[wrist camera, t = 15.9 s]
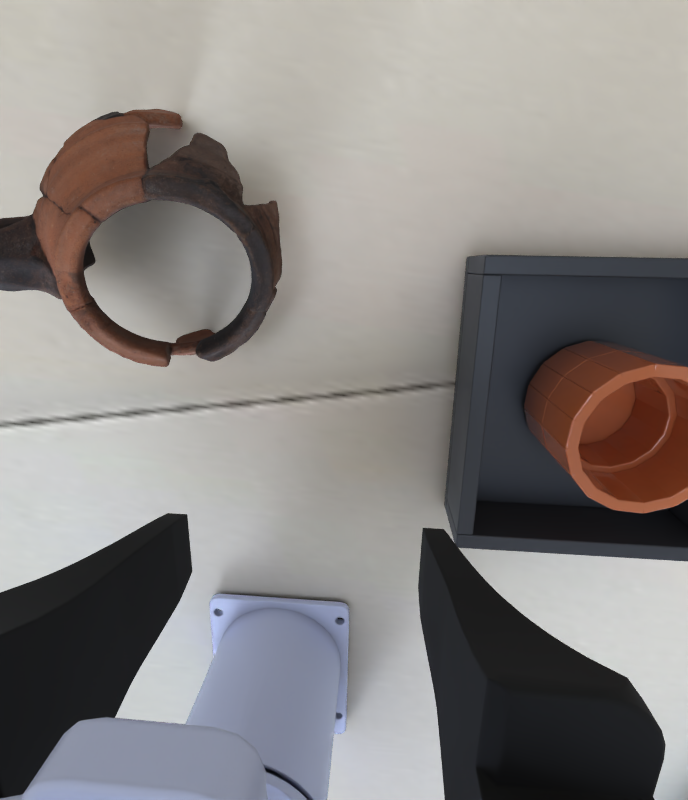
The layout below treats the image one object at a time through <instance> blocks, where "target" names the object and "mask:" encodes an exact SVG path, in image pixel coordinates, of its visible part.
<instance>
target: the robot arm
mask: <svg viewBox="0 0 688 800" xmlns="http://www.w3.org/2000/svg"><path fill="white" fill-rule="evenodd" d="M191 573H192V563H191V552H190V541H189V530H188V519H187V514H170V513H168V514H166V515H163V516H161V517H159V518H157V519H156V520H154V521H152V522H150V523H148V524H146V525H145V526H143V527H141V528H139V529H138V530H136V531H134V532H132V533H131V534H129V535H127V536H125V537H123V538H122V539H120V540H118V541H116V542H115V543H113V544H111V545H109V546H107V547H105V548H103V549H101V550H99V551H98V552H96V553H94V554H92V555H90V556H88V557H86V558H84V559H82V560H80V561H78V562H76V563H74V564H72V565H70V566H68V567H65V568H63V569H61V570H59V571H56V572H54V573H52V574H49V575H47V576H44V577H42V578H40V579H37V580H34V581H32V582H29V583H26V584H23V585H21V586H18V587H15V588H12V589H9V590H7V591H4V592H1V593H0V800H327V797H328V787H329V777H330V766H331V756H332V746H333V736H334V734H341V733H343V732H344V731H345V730H346V718H347V679H348V641H349V607H348V605H347V604H345V603H343V602H333V601H319V600H304V599H290V598H275V597H261V596H246V595H232V594H215V595H213V597H212V598H211V600H210V617H211V630H212V642H213V655H214V658H213V660H212V662H211V665H210V667H209V670H208V672H207V674H206V677H205V679H204V681H203V684H202V686H201V688H200V691H199V693H198V696H197V698H196V700H195V703H194V705H193V707H192V710H191V712H190V714H189V717H188V719H187V721H186V724H177V723H165V722H154V721H143V720H132V719H120V718H115V716H116V714H117V712H118V710H119V708H120V706H121V703H122V701H123V699H124V697H125V695H126V693H127V691H128V689H129V687H130V685H131V683H132V681H133V679H134V677H135V675H136V674H137V672H138V670H139V668H140V666H141V665H142V663H143V661H144V660H145V658H146V656H147V655H148V653H149V652H150V650H151V648H152V647H153V645H154V643H155V642H156V640H157V638H158V637H159V635H160V633H161V632H162V630H163V628H164V627H165V625H166V623H167V622H168V620H169V618H170V617H171V615H172V613H173V612H174V610H175V608H176V606H177V605H178V603H179V601H180V599H181V597H182V594H183V592H184V590H185V588H186V585H187V583H188V580H189V578H190V576H191ZM418 589H419V605H420V618H421V624H422V629H423V634H424V640H425V645H426V650H427V656H428V661H429V666H430V671H431V677H432V682H433V687H434V693H435V699H436V706H437V715H438V726H439V736H440V747H441V759H442V770H443V782H444V794H445V800H654V798H653V794H654V791H655V787H656V784H657V781H658V777H659V774H660V770H661V767H662V764H663V760H664V753H665V741H664V737H663V734H662V730H661V729H660V727H659V725H658V724H657V722H656V720H655V719H654V717H653V715H652V714H651V712H650V710H649V709H648V707H647V706H646V704H645V702H644V701H643V699H642V698H641V696H640V695H639V693H638V692H637V691H636V689H635V688H634V686H633V685H632V684H631V682H630V681H629V679H628V678H627V677H625V676H623V675H621V674H619V673H617V672H615V671H613V670H611V669H609V668H607V667H605V666H603V665H601V664H599V663H597V662H595V661H593V660H591V659H589V658H587V657H586V656H584V655H582V654H581V653H579V652H577V651H575V650H574V649H572V648H570V647H569V646H567V645H565V644H564V643H562V642H561V641H559V640H558V639H556V638H555V637H553V636H551V635H550V634H548V633H547V632H546V631H544V630H543V629H541V628H540V627H539V626H537V625H536V624H535V623H533V622H532V621H530V620H529V619H528V618H526V617H525V616H524V615H523V614H521V613H520V612H519V611H518V610H517V609H515V608H514V607H513V606H512V605H511V604H510V603H508V602H507V601H506V600H505V599H504V598H503V597H502V596H501V595H499V594H498V593H497V592H496V591H495V590H494V589H493V588H492V587H491V586H490V585H489V584H488V583H487V582H486V581H485V579H484V578H483V577H482V576H481V575H480V574H479V573H478V572H477V570H476V569H475V568H474V567H473V566H472V565H471V563H470V562H469V561H468V560H467V559H466V557H465V556H464V555H463V554H462V552H461V551H460V550H459V549H458V547H457V546H456V545H455V543H454V542H453V541H452V539H451V538H450V537H449V535H448V534H447V533H446V531H445V530H444V529H431V528H423V532H422V545H421V558H420V571H419V584H418ZM217 609H221V610H222V611H218V610H217ZM338 617H341V618H343V620H339V619H337V618H338Z"/></svg>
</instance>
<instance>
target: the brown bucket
mask: <svg viewBox="0 0 688 800" xmlns="http://www.w3.org/2000/svg"><path fill="white" fill-rule="evenodd" d="M529 384H530V385H528V389H527V394H526V399H525V403H524V412H525V416H526V420H527V425H528V428H529V430H530V432H531V433H532V434H533V435H534V437H535V438H536V439H537V441H538V442H539V443H540V444H541V446H542V447H543V448H544V449H545V450H546V451H547V452H548V453H549V455H550V456H551V457H552V458H553V459H554V460H555V461H556V462H557V463H558V465H559V466H560V467H561V468H562V469H563V470H564V471H565V472H566V474H567V475H568V476H569V477H570V478H571V479H572V480H573V481H574V482H575V484H576V485H577V486H578V487H579V488H580V489H581V490H582V491H583V493H584V494H585V495H586V496H588V497H589V498H591V499H593V500H594V501H596V502H598V503H600V504H602V505H604V506H606V507H608V508H610V509H612V510H617V511H626V512H635V513H648V512H653V511H657V510H662V509H666V508H671V507H674V506H677V505H679V504H680V503H682V502H684V501H685V500H687V499H688V367H686V366H683V365H680V364H677V363H674V362H671V361H668V360H665V359H662V358H659V357H656V356H653V355H650V354H647V353H644V352H641V351H638V350H635V349H632V348H629V347H626V346H623V345H620V344H616V343H612V342H601V341H586V342H582V343H579V344H575V345H572V346H568V347H565V348H563V349H562V350H560V351H559V352H557V353H556V354H555V355H553V356H552V357H551V358H549V359H548V360H546V361H545V362H544V363H543V364H542V365H541V367H540V368H539V370H538V371H537V373H536V374H535V375H534V377H533V378H532V380H531V381H530V383H529Z"/></svg>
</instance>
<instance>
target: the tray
mask: <svg viewBox="0 0 688 800" xmlns="http://www.w3.org/2000/svg"><path fill="white" fill-rule="evenodd" d="M586 341H601V342H612V343H616V344H620V345H623V346H626V347H629V348H632V349H635V350H638V351H641V352H644V353H647V354H650V355H653V356H656V357H659V358H662V359H665V360H668V361H671V362H674V363H677V364H680V365H683V366H686V367H688V258H635V257H578V256H521V255H481V256H470V257H467V260H466V271H465V282H464V293H463V305H462V316H461V327H460V338H459V349H458V360H457V371H456V382H455V393H454V404H453V415H452V426H451V437H450V448H449V459H448V470H447V481H446V492H445V503H444V505H445V509H446V512H447V516H448V520H449V523H450V527H451V531H452V534H453V538H454V542H455V545H456V546H457V547H458V548H473V549H490V550H507V551H524V552H540V553H557V554H574V555H590V556H607V557H624V558H640V559H657V560H674V561H688V499H687V500H685V501H684V502H682V503H680V504H679V505H677V506H674V507H671V508H666V509H662V510H657V511H653V512H648V513H635V512H626V511H617V510H612V509H610V508H608V507H606V506H604V505H602V504H600V503H598V502H596V501H594V500H593V499H591V498H589V497H588V496H586V495H585V494H584V493H583V491H582V490H581V489H580V488H579V487H578V486H577V485H576V484H575V482H574V481H573V480H572V479H571V478H570V477H569V476H568V475H567V474H566V472H565V471H564V470H563V469H562V468H561V467H560V466H559V465H558V463H557V462H556V461H555V460H554V459H553V458H552V457H551V456H550V455H549V453H548V452H547V451H546V450H545V449H544V448H543V447H542V446H541V444H540V443H539V442H538V441H537V439H536V438H535V437H534V435H533V434H532V433H531V432H530V430H529V428H528V425H527V420H526V416H525V412H524V403H525V399H526V394H527V389H528V385H530V384H529V383H530V381H531V380H532V378H533V377H534V375H535V374H536V373H537V371H538V370H539V368H540V367H541V365H542V364H543V363H544V362H545V361H546V360H548V359H549V358H551V357H552V356H553V355H555V354H556V353H557V352H559V351H560V350H562V349H563V348H565V347H568V346H572V345H575V344H579V343H582V342H586Z"/></svg>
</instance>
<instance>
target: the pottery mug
mask: <svg viewBox="0 0 688 800" xmlns="http://www.w3.org/2000/svg"><path fill="white" fill-rule="evenodd" d="M181 127H182V120H181V116H180V115H179V114H177V113H174V112H170V111H166V110H161V109H151V110H132V111H129V112H127V113H119V112H112V113H109V114H106V115H104V116H101V117H99V118H97V119H95V120H93V121H91V122H90V123H88V124H86V125H85V126H83V127H82V128H80V129H79V130H77V131H76V132H75V133H74V134H72V135H71V136H70V137H69V138H68V139H67V140H66V141H65V143H64V146H63V147H62V148H61V150H60V151H59V152H58V154H57V155H56V157H55V158H54V159H53V160H52V161H51V163H50V164H49V166H48V167H47V169H46V171H45V174H44V176H43V179H42V181H41V183H40V191H41V192H42V194H43V197H41V198H40V199H39V200H38V201H37V204H36V207H35V209H34V212H33V214H32V215H30V216H25V217H14V218H2V219H0V290H4V291H21V290H39V291H44V292H47V293H49V294H51V295H53V296H55V297H56V298H58V299H62V300H63V302H64V304H65V306H66V308H67V310H68V311H69V312H70V313H71V315H72V316H73V318H74V319H75V320H76V321H77V322H78V323H79V325H80V326H81V327H82V328H83V329H84V330H85V331H86V332H87V333H88V334H89V335H90V336H91V337H93V338H94V339H95V340H96V341H97V342H99V343H100V344H101V345H103V346H104V347H105V348H107V349H108V350H110V351H113V352H115V353H117V354H119V355H121V356H122V357H124V358H128V359H130V360H132V361H135V362H138V363H143V364H147V365H152V366H160V367H166V366H168V365H169V362H170V359H171V356H170V355H194V354H197V356H198V357H199V358H202V359H205V360H208V361H216V360H219V359H221V358H223V357H225V356H227V355H229V354H230V353H232V352H234V351H235V350H236V349H237V348H238V347H239V346H241V345H242V344H244V343H245V342H247V341H248V340H249V339H250V338H251V337H252V336H253V334H254V333H255V332H256V331H257V330H258V328H259V326H260V325H261V323H262V321H263V319H264V317H265V315H266V312H267V310H268V309H269V307H270V305H271V303H272V301H273V300H274V298H275V295H276V292H277V289H276V287H275V286H276V284H277V282H278V281H279V279H280V277H281V273H282V257H281V248H280V234H279V214H278V207H277V203H276V201H270V202H269V203H267V204H259V205H244V203H243V201H242V193H243V186H242V184H241V181H240V177H239V174H238V172H237V171H236V169H235V168H234V166H233V165H232V164H231V163H230V162H229V159H228V155H227V151H226V149H225V147H224V146H223V145H222V144H221V143H219V142H217V141H216V140H214V139H212V138H210V137H208V136H207V135H205V134H202V133H196V134H194V136H193V138H192V141H191V142H190V145H187V146H184V147H182V148H180V149H179V150H177V151H176V152H175V153H174V154H173V155H172V156H171V157H169V158H167V159H166V160H164V161H162V162H161V163H159V164H158V165H155V166H154V167H152V168H151V169H149V166H148V160H147V140H148V137H149V133H150V129H152V128H174V129H180V128H181ZM152 199H155V200H168V201H176V202H181V203H186V204H190V205H193V206H195V207H197V208H200V209H202V210H204V211H206V212H207V213H210V214H211V215H213V216H214V217H216V218H218V219H219V220H221V221H222V222H223V223H224V224H225V225H226V226H228V227H229V228H230V229H231V230H232V231H233V232H235V233H236V234H237V236H238V238H239V240H240V241H241V242H242V244H243V246H244V248H245V250H246V252H247V255H248V257H249V261H250V265H251V272H252V283H251V289H250V293H249V296H248V299H247V301H246V303H245V305H244V306H243V308H242V310H241V311H240V313H239V314H238V315H237V317H236V318H235V319H234V320H233V321H232V322H231V323H230V324H229V325H228V326H226V327H225V328H223V329H222V330H220V331H219V332H217V333H213V332H212V331H211V330H208V329H204V330H199V331H196V332H192V333H189V334H186V335H183V336H181V337H179V338H178V339H177V340H176V343H169V342H163V341H156V340H152V339H148V338H145V337H141V336H139V335H136V334H134V333H132V332H130V331H128V330H126V329H124V328H122V327H121V326H119V325H118V324H116V323H115V322H114V321H112V320H111V319H110V318H109V317H108V316H107V315H106V314H105V313H104V312H103V311H102V310H101V309H100V308H99V306H98V305H97V303H96V302H95V300H94V298H93V297H92V296H91V295H90V293H89V291H88V288H87V285H86V281H85V277H84V270H85V269H87V268H88V267H89V266H92V265H93V264H94V263H95V261H96V260H95V257H94V254H93V251H92V249H91V246H90V243H89V240H90V238H91V236H92V234H93V233H94V232H95V230H96V229H97V228H98V227H99V225H100V224H101V223H102V222H103V221H105V220H106V219H108V218H109V217H110V216H112V215H113V214H114V213H116V212H118V211H120V210H121V209H124V208H126V207H128V206H132V205H135V204H139V203H144V202H147V201H150V200H152Z"/></svg>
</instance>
